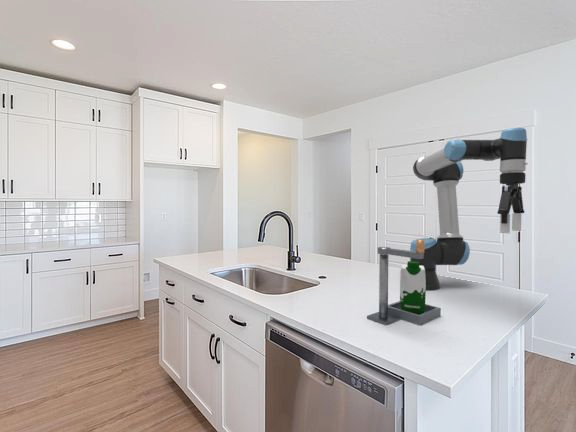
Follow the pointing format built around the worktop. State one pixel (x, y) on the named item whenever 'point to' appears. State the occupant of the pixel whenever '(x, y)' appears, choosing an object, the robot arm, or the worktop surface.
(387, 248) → the crank handle
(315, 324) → the worktop surface
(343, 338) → the worktop surface
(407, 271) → the soya milk
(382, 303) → the post
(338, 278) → the worktop surface
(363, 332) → the worktop surface
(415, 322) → the socket frame
